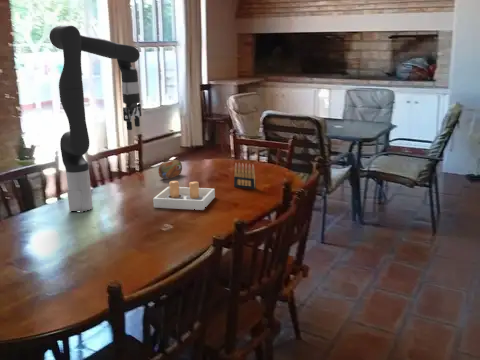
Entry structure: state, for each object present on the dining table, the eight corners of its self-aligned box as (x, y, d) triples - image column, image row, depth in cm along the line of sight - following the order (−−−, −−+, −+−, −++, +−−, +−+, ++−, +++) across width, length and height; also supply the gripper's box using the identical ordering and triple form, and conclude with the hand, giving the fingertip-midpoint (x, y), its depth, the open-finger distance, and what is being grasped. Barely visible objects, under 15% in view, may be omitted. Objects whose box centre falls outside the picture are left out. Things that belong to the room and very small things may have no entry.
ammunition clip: (256, 188, 255) (255, 163, 252) (254, 189, 254) (253, 164, 251) (235, 185, 260) (235, 161, 257) (234, 186, 258) (233, 162, 255)
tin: (162, 180, 272) (161, 164, 270) (157, 180, 274) (156, 163, 272) (182, 174, 283) (182, 158, 281) (178, 173, 285) (177, 157, 283)
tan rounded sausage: (177, 201, 236) (176, 183, 234) (169, 200, 237) (168, 183, 234) (180, 198, 239) (179, 180, 237) (172, 198, 240) (171, 180, 238)
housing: (203, 210, 226) (202, 189, 224) (153, 207, 231) (152, 187, 229) (214, 197, 243) (214, 177, 241) (168, 195, 248) (167, 176, 246)
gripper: (129, 90, 250) (132, 125, 254) (116, 94, 236) (119, 130, 241) (144, 90, 248) (147, 125, 252) (132, 94, 235) (134, 131, 239)
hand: (133, 128), depth 247 cm, fingers open, 8 cm apart
